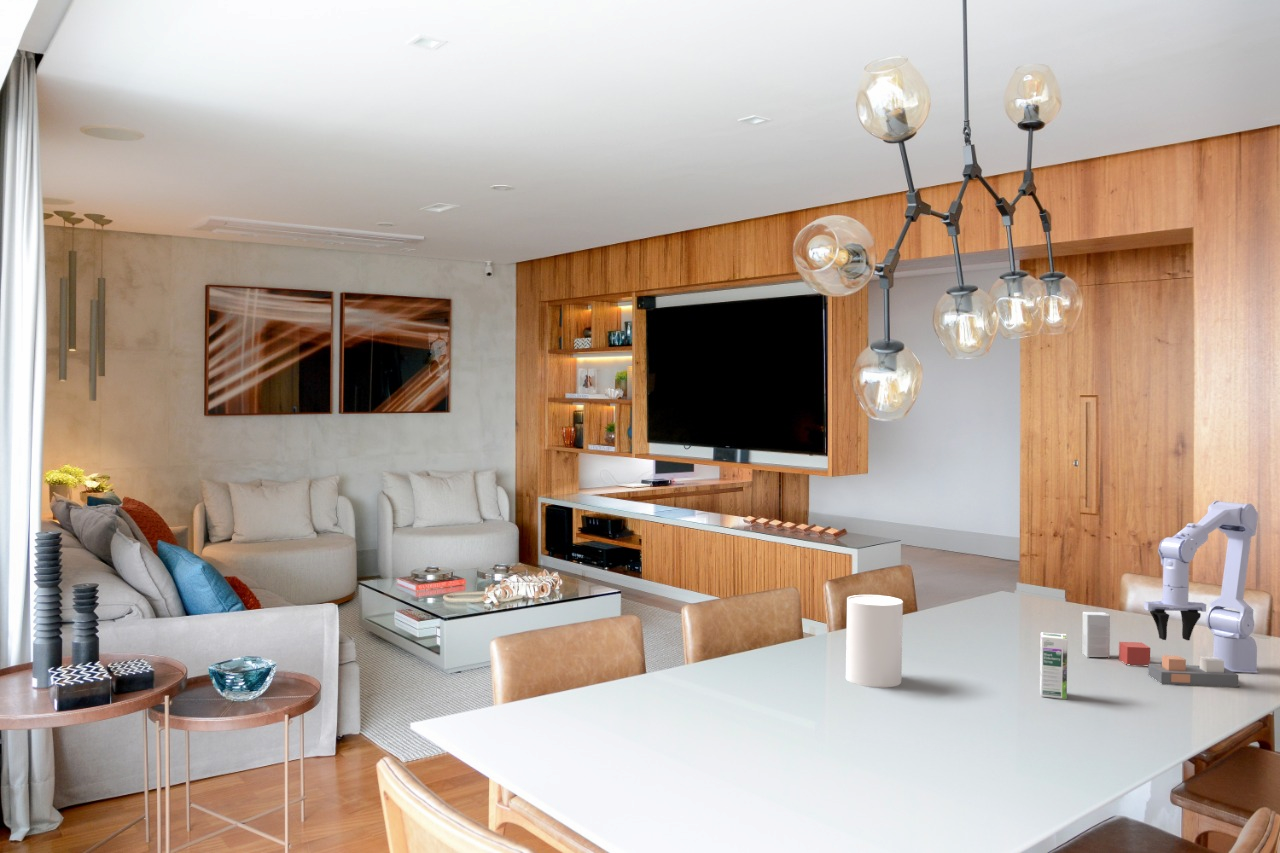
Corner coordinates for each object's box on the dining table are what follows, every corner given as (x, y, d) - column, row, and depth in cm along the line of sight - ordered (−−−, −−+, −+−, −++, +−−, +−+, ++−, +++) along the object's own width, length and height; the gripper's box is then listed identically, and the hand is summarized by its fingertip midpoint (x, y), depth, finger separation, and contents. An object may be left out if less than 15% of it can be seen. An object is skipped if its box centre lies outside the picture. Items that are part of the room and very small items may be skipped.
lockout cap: (1141, 660, 265) (1141, 642, 265) (1149, 666, 259) (1150, 647, 259) (1118, 660, 266) (1119, 641, 266) (1127, 665, 260) (1127, 646, 260)
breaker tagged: (1178, 669, 248) (1178, 655, 248) (1185, 673, 244) (1185, 659, 244) (1162, 668, 248) (1162, 655, 248) (1168, 673, 244) (1169, 659, 244)
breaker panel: (1222, 678, 249) (1222, 666, 248) (1238, 687, 240) (1238, 675, 240) (1148, 675, 251) (1148, 663, 251) (1161, 684, 242) (1161, 672, 242)
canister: (858, 669, 253) (859, 592, 253) (909, 678, 245) (910, 599, 245) (837, 680, 242) (838, 600, 242) (889, 690, 234) (890, 607, 234)
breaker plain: (1216, 671, 247) (1216, 657, 247) (1223, 675, 243) (1224, 661, 243) (1199, 670, 247) (1199, 656, 247) (1206, 674, 243) (1207, 660, 243)
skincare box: (1103, 654, 271) (1104, 611, 271) (1109, 658, 267) (1110, 615, 267) (1081, 654, 272) (1082, 611, 271) (1086, 658, 267) (1087, 614, 267)
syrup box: (1040, 697, 230) (1041, 636, 230) (1039, 690, 236) (1040, 630, 236) (1066, 700, 228) (1068, 638, 228) (1065, 693, 234) (1066, 632, 234)
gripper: (1195, 583, 250) (1194, 635, 250) (1138, 582, 250) (1137, 635, 250) (1211, 588, 242) (1210, 642, 243) (1152, 587, 243) (1151, 641, 243)
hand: (1174, 639), depth 246 cm, fingers open, 5 cm apart
